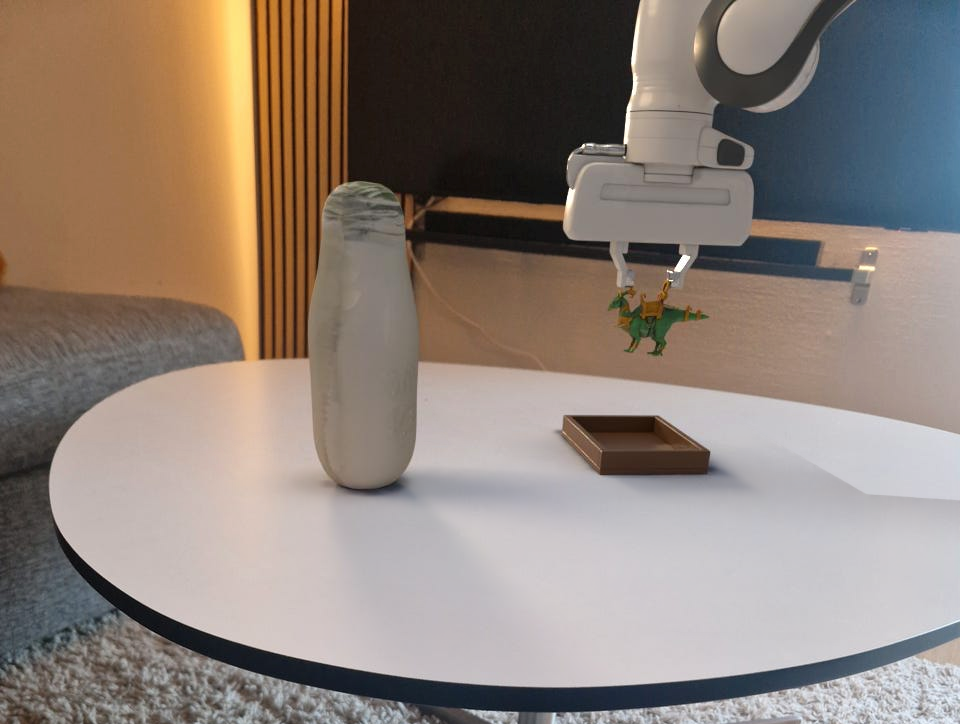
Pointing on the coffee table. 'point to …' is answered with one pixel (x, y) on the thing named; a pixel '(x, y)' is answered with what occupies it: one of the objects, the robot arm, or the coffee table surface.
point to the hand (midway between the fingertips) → (649, 288)
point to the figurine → (650, 318)
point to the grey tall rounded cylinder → (363, 340)
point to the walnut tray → (634, 445)
